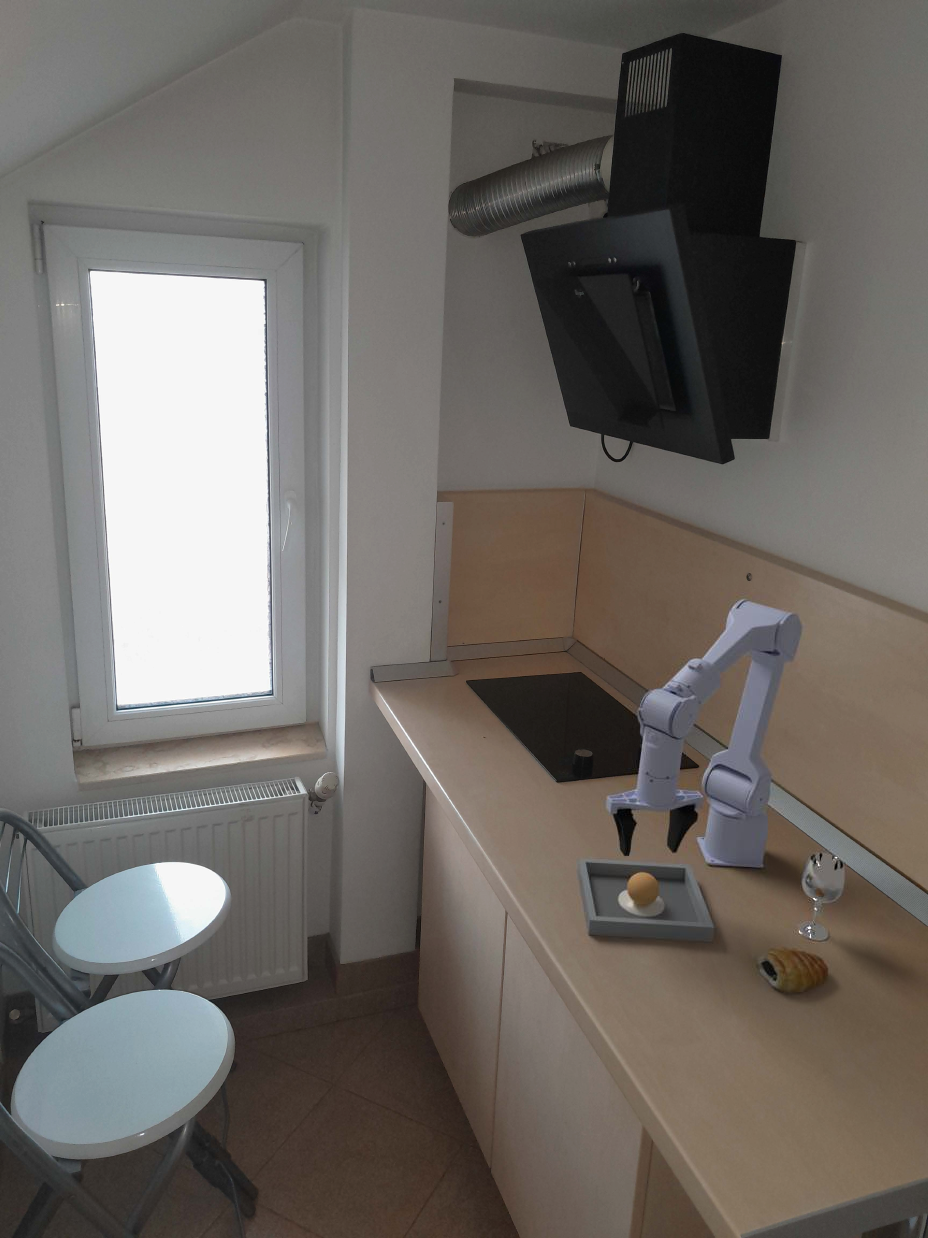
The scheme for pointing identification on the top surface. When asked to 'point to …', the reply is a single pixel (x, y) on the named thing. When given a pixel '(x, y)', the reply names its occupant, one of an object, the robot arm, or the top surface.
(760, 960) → the pastry
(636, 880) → the ball
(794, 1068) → the top surface
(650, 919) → the grey serving tray
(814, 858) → the wineglass
